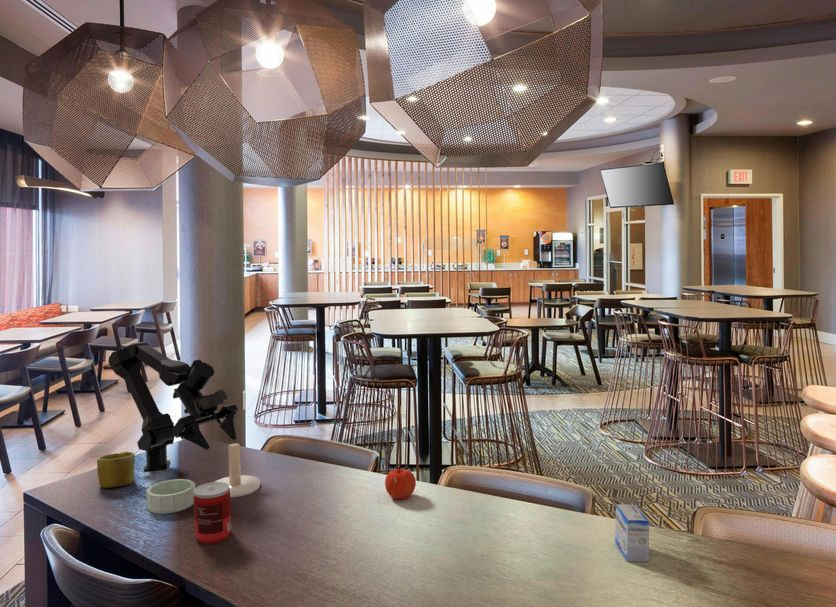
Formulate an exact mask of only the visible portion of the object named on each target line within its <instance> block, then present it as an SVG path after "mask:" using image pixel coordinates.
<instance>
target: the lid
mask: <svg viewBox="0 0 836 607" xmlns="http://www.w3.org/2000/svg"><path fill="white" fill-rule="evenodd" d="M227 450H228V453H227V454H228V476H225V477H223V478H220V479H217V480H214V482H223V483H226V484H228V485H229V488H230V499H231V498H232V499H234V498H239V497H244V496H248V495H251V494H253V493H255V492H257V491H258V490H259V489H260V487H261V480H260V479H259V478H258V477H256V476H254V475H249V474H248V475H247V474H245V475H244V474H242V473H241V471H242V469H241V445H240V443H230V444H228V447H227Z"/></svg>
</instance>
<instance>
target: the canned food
mask: <svg viewBox="0 0 836 607" xmlns="http://www.w3.org/2000/svg"><path fill="white" fill-rule="evenodd" d="M193 495H194V504H193V515H194V536H195V539H196V541H197V542H198V543H200V544H205V545H212V544H213V545H214V544H217V543H221V542H224V541H225V540H227V539H228V538H229V537H230V535H231V532H232V516H231V515H232V513H231V512H232V511H231V507H232V506H231V498H230V488H229V485H228V484H226V483H223V482H215V481H212V482H207V483H203V484H201V485H198V486H195V489H194V493H193Z"/></svg>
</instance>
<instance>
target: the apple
mask: <svg viewBox="0 0 836 607" xmlns="http://www.w3.org/2000/svg"><path fill="white" fill-rule="evenodd" d="M416 484H417V482H416V477H415V475H414V474H413V472H411V471H410V470H408V469H402V468H401V466H399V467H398V468H396V469H394V470H392V471H389V473H387V475H386V476H385V479H384V487H385V491H386V492H387V494H388V495H389V497H391V498H393V499H396V500H405V499H407V498H409V497H410V496H412V494H413V493H414V492H415V489H416V487H417V486H416Z"/></svg>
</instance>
